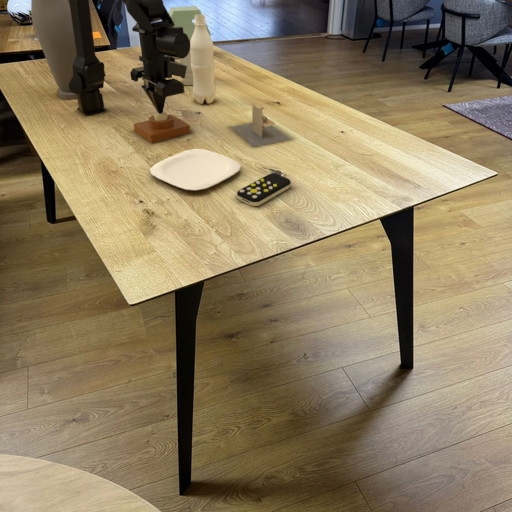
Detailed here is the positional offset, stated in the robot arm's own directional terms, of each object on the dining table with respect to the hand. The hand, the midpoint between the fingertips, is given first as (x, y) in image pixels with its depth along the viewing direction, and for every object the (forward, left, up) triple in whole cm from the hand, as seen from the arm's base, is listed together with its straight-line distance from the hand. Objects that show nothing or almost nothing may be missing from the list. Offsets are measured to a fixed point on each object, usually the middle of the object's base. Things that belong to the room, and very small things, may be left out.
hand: (160, 112), depth 129 cm
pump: (0, 0, -2) cm, 2 cm away
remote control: (+1, -44, -6) cm, 44 cm away
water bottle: (+23, +14, -6) cm, 28 cm away
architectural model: (+21, -17, -6) cm, 28 cm away
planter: (+48, +66, -6) cm, 82 cm away
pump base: (0, 0, -5) cm, 5 cm away
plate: (-6, -27, -6) cm, 28 cm away
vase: (-8, +47, -6) cm, 48 cm away
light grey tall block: (+31, +33, -6) cm, 46 cm away
